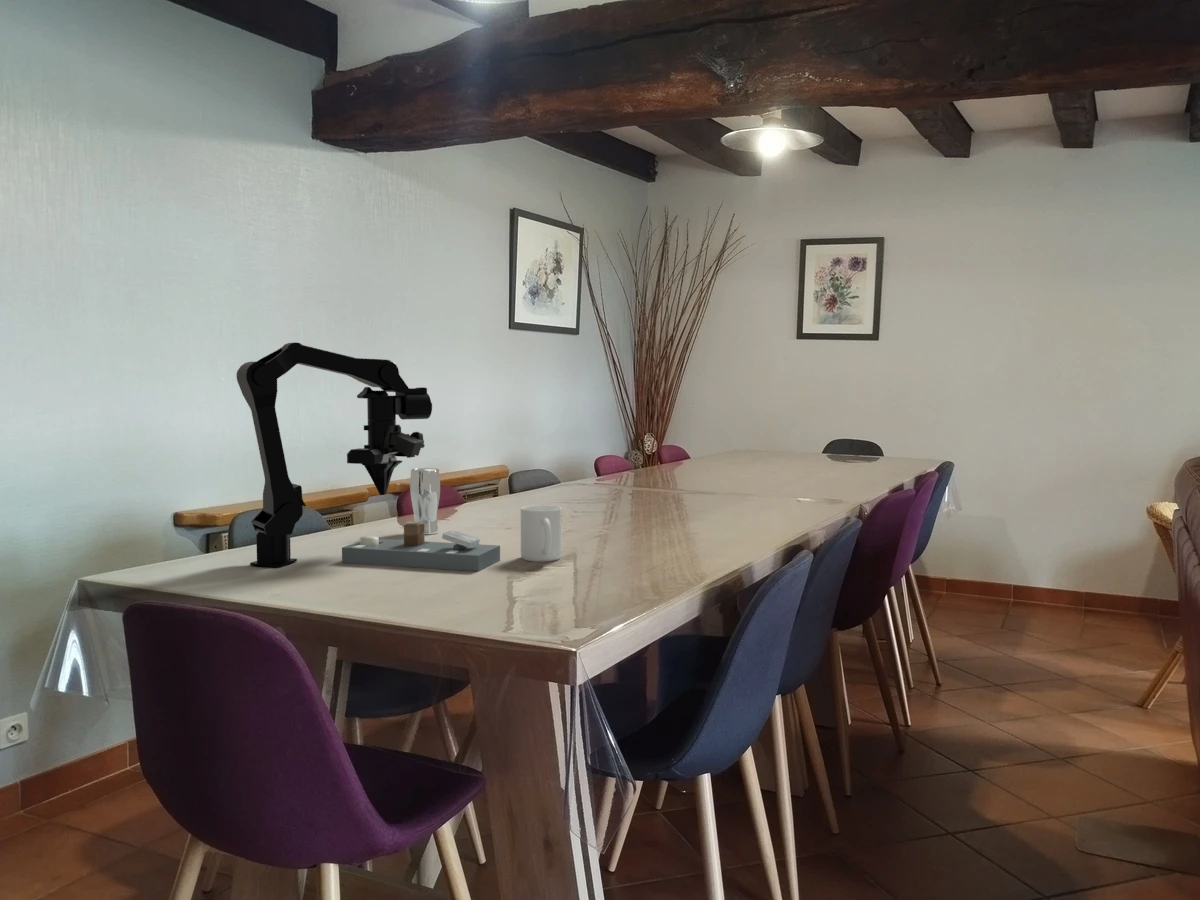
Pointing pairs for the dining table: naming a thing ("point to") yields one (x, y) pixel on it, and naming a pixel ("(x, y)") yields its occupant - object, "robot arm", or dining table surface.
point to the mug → (541, 533)
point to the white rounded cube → (369, 540)
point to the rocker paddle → (460, 538)
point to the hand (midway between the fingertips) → (382, 494)
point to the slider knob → (414, 533)
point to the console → (423, 555)
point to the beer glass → (425, 497)
